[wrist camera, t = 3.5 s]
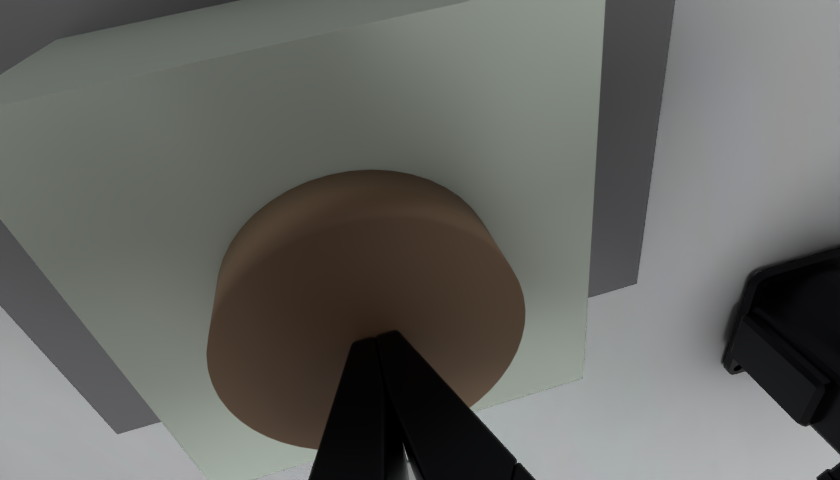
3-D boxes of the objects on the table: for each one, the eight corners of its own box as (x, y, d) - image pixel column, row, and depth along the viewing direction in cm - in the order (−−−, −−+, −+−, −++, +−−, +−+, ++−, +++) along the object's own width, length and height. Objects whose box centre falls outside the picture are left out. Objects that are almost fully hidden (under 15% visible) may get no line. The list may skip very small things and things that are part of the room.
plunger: (420, 62, 13) (520, 176, 7) (447, 237, 16) (529, 402, 11) (200, 113, 12) (140, 276, 7) (274, 284, 15) (272, 481, 10)
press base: (691, -229, 11) (963, -315, 7) (629, 275, 20) (729, 383, 16) (-292, -47, 9) (-818, 3, 5) (120, 422, 18) (69, 592, 14)
